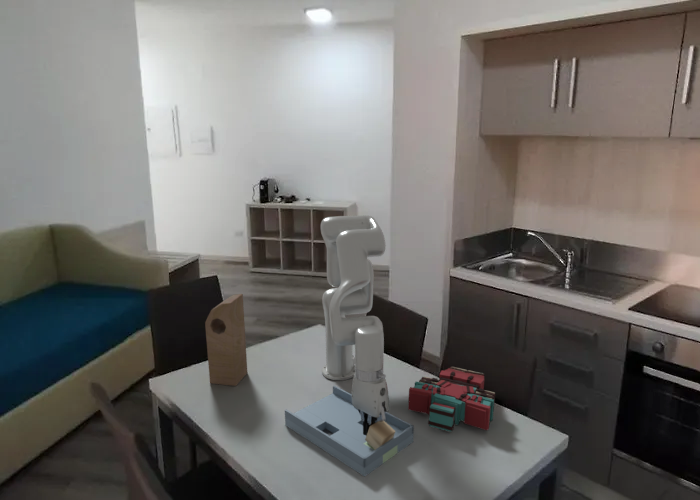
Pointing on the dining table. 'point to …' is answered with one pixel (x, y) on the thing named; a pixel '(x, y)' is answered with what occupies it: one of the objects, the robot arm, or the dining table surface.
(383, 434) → the oak block
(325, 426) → the trap board
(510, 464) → the dining table surface
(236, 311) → the decorative block
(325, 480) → the dining table surface
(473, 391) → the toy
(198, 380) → the dining table surface
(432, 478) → the dining table surface
